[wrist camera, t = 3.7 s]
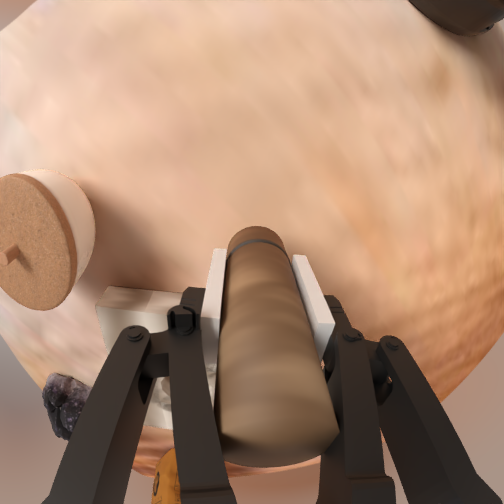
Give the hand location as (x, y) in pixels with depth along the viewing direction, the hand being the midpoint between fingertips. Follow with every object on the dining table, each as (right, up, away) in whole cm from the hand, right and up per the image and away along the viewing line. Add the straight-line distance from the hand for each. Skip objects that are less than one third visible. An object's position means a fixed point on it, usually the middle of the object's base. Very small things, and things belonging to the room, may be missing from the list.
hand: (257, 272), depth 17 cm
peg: (0, +2, +3) cm, 4 cm away
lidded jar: (-18, +5, +5) cm, 19 cm away
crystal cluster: (-27, -21, +16) cm, 38 cm away
